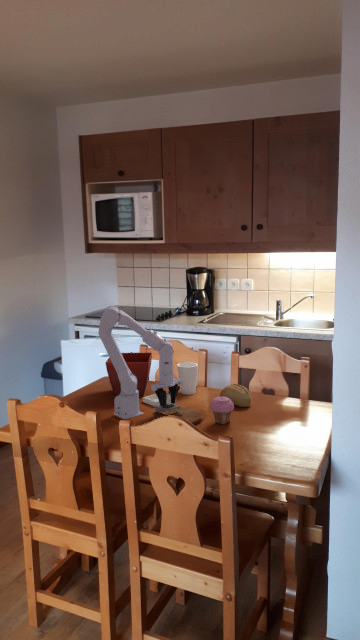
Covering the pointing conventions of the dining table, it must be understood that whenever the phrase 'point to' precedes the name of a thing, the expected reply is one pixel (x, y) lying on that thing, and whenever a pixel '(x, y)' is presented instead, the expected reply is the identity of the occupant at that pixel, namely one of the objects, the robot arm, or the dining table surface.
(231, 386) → the bread roll
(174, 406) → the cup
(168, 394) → the pin
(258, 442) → the dining table surface
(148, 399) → the tray
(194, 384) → the foam cup
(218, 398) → the cupcake
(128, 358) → the plant pot
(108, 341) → the robot arm
